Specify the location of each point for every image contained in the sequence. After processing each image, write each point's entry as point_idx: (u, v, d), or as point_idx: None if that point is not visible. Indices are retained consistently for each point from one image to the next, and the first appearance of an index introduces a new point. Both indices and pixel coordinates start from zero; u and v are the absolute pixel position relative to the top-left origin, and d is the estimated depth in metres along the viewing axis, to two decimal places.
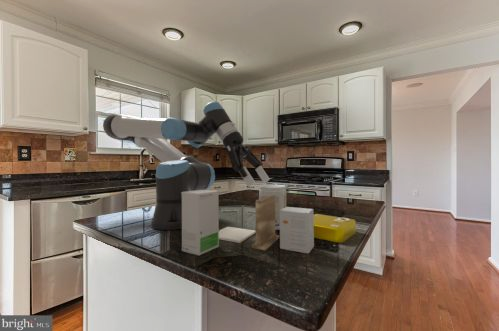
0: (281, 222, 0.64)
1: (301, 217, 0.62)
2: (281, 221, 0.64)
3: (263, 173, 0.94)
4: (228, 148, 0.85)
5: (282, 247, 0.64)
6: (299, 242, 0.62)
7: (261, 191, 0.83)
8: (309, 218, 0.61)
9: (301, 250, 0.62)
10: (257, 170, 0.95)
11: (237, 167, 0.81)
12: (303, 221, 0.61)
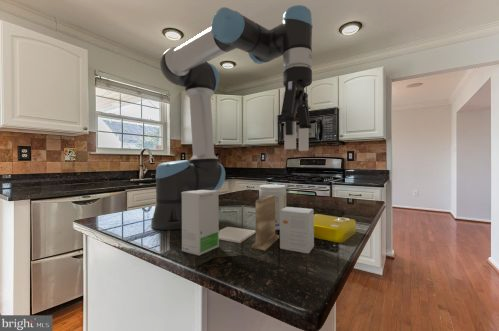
0: (281, 222, 0.64)
1: (301, 217, 0.62)
2: (281, 221, 0.64)
3: (305, 139, 0.70)
4: (289, 85, 0.58)
5: (282, 247, 0.64)
6: (299, 242, 0.62)
7: (261, 191, 0.83)
8: (309, 218, 0.61)
9: (301, 250, 0.62)
10: (300, 131, 0.70)
11: (287, 118, 0.56)
12: (303, 221, 0.61)
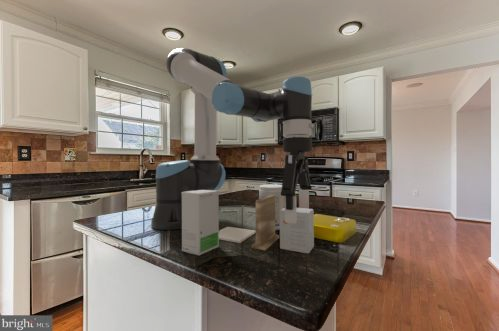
0: (281, 222, 0.64)
1: (301, 217, 0.62)
2: (282, 221, 0.64)
3: (306, 201, 0.70)
4: (289, 159, 0.58)
5: (282, 247, 0.64)
6: (299, 242, 0.62)
7: (261, 191, 0.83)
8: (309, 218, 0.61)
9: (301, 250, 0.62)
10: (301, 192, 0.71)
11: (287, 194, 0.56)
12: (303, 221, 0.61)
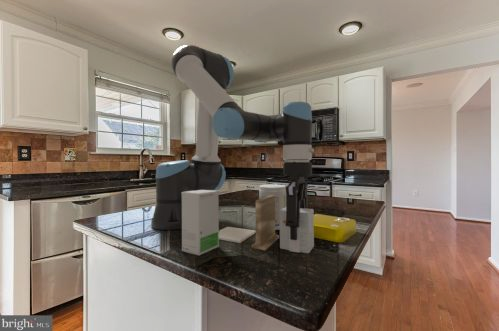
0: (281, 222, 0.64)
1: (301, 217, 0.62)
2: (282, 221, 0.64)
3: None
4: (290, 191, 0.59)
5: (282, 247, 0.64)
6: None
7: (261, 191, 0.83)
8: (309, 218, 0.61)
9: (301, 250, 0.62)
10: None
11: (291, 226, 0.60)
12: (303, 221, 0.61)
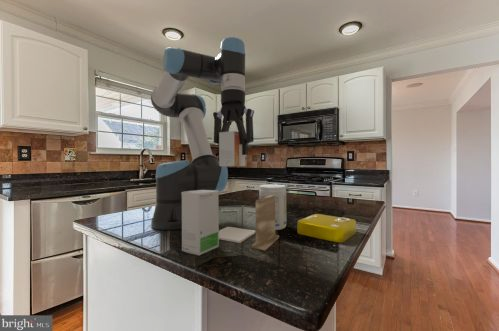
0: None
1: None
2: None
3: None
4: None
5: None
6: None
7: (261, 191, 0.83)
8: (221, 137, 0.73)
9: None
10: None
11: None
12: None
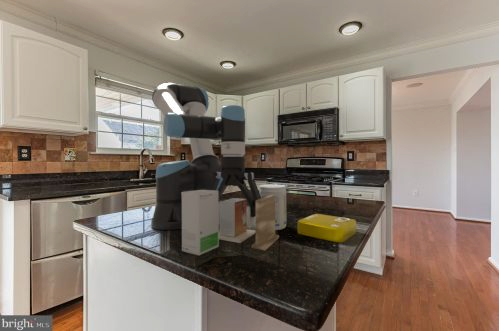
0: None
1: None
2: None
3: None
4: None
5: None
6: None
7: (261, 191, 0.83)
8: (221, 206, 0.74)
9: None
10: None
11: None
12: None
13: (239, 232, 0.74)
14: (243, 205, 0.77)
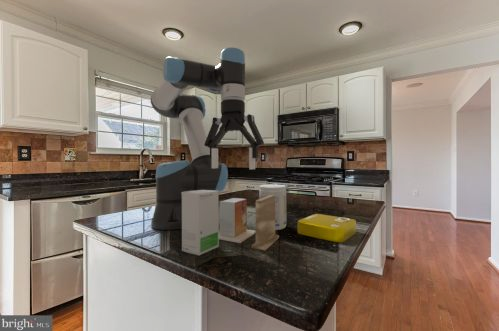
0: None
1: None
2: None
3: None
4: None
5: None
6: None
7: (261, 191, 0.83)
8: (221, 206, 0.74)
9: None
10: None
11: None
12: None
13: (239, 232, 0.74)
14: (243, 205, 0.77)
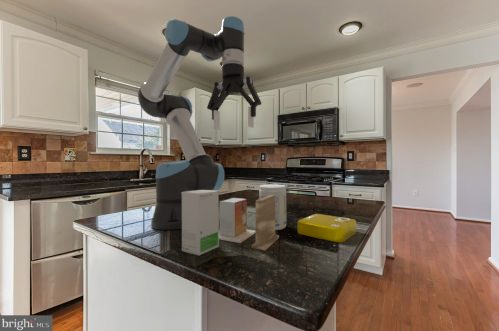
0: None
1: None
2: None
3: None
4: None
5: None
6: None
7: (261, 191, 0.83)
8: (221, 206, 0.74)
9: None
10: None
11: (210, 109, 0.87)
12: None
13: (239, 232, 0.74)
14: (243, 205, 0.77)
